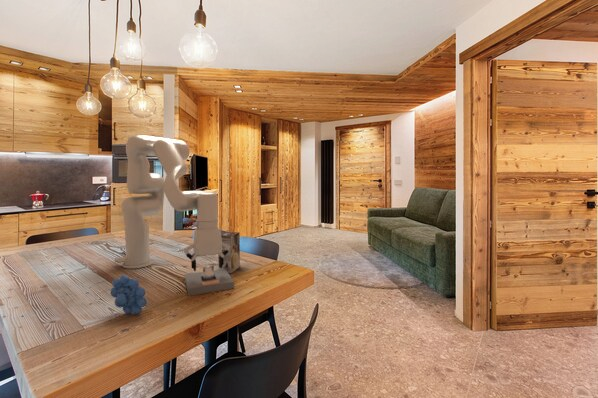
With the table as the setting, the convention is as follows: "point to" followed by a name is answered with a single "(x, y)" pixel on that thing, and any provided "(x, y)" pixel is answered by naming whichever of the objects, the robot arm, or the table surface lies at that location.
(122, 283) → the grapes
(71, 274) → the table surface
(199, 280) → the hole board
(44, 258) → the table surface
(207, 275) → the peg
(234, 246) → the coffee box
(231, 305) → the table surface
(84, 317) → the table surface
